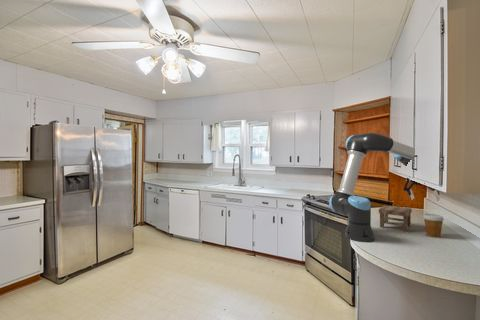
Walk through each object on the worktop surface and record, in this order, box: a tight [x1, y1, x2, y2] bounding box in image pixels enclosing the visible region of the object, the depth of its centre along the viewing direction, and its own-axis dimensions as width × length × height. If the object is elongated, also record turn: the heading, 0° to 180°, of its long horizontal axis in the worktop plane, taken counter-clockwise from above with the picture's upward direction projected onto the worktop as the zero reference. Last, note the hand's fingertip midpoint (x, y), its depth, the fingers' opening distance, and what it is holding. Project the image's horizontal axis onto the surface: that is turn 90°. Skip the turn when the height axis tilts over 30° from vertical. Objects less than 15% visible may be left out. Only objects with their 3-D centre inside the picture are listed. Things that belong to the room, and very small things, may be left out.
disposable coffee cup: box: [422, 213, 445, 239], centre depth 139 cm, size 10×10×12 cm
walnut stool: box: [378, 205, 413, 233], centre depth 158 cm, size 16×16×12 cm
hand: (425, 199), depth 149 cm, fingers open, 13 cm apart
